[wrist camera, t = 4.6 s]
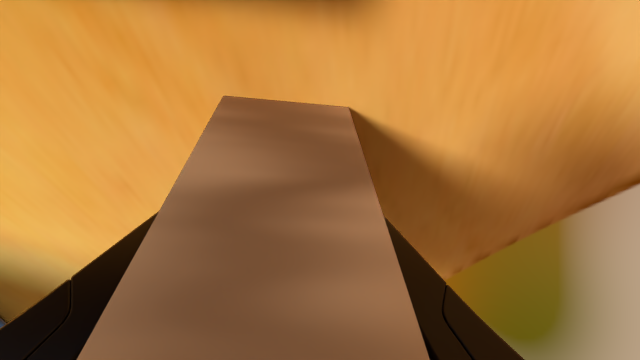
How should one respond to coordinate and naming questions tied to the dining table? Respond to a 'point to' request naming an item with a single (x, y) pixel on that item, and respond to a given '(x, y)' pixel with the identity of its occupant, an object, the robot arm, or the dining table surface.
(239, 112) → the walnut peg
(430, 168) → the dining table surface
